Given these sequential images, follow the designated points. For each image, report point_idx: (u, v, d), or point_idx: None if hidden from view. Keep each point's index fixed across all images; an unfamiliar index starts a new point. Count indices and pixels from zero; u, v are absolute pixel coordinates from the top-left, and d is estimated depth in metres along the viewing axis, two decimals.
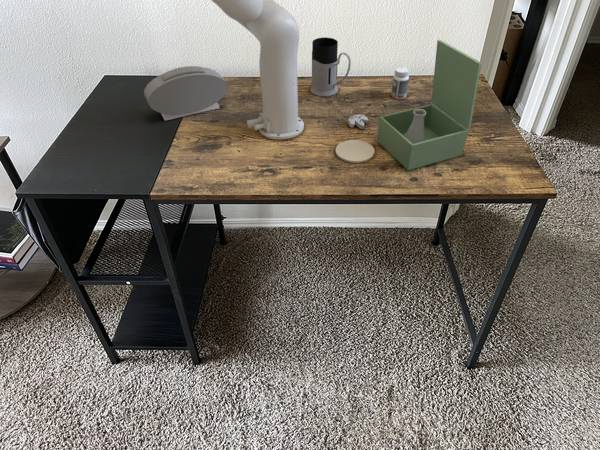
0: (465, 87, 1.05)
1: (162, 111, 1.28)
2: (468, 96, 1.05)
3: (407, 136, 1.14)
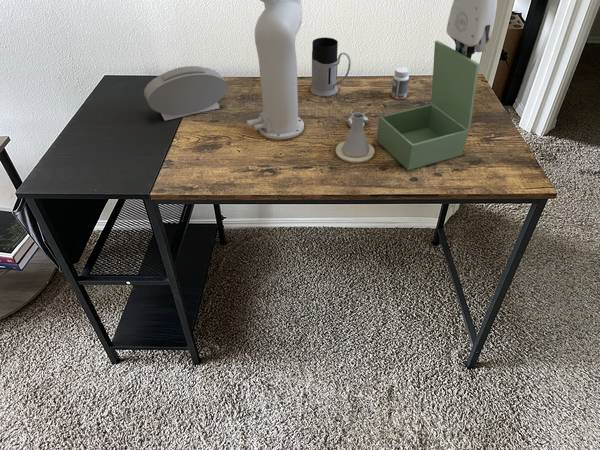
0: (464, 88, 1.05)
1: (162, 111, 1.28)
2: (467, 97, 1.05)
3: (347, 139, 1.14)
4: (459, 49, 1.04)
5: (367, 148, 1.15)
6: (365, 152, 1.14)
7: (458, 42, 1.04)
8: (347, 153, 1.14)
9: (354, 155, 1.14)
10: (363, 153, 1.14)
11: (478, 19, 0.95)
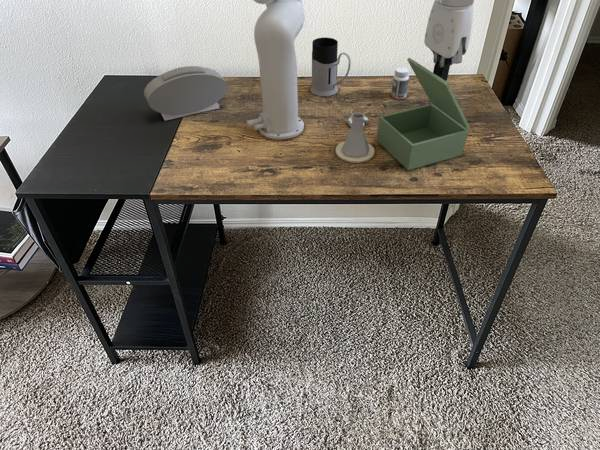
0: (447, 99, 1.05)
1: (162, 111, 1.28)
2: (453, 106, 1.06)
3: (347, 139, 1.14)
4: (437, 60, 1.04)
5: (367, 148, 1.15)
6: (365, 152, 1.14)
7: (436, 53, 1.03)
8: (347, 153, 1.14)
9: (354, 155, 1.14)
10: (363, 153, 1.14)
11: (453, 31, 0.94)
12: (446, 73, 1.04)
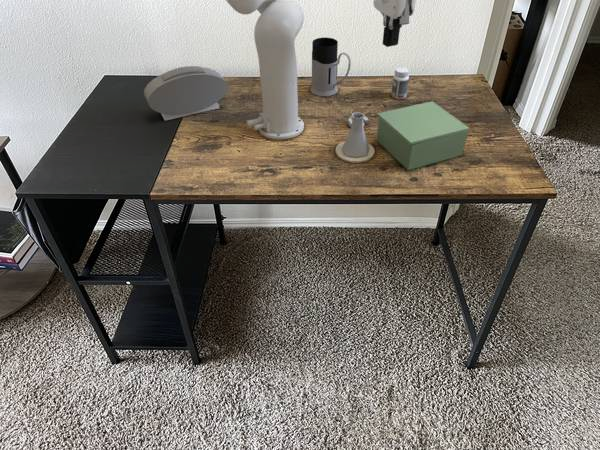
0: None
1: (162, 111, 1.28)
2: None
3: (347, 139, 1.14)
4: (386, 23, 1.02)
5: (367, 148, 1.15)
6: (365, 152, 1.14)
7: (385, 15, 1.01)
8: (347, 153, 1.14)
9: (354, 155, 1.14)
10: (363, 153, 1.14)
11: None
12: (396, 36, 1.02)
